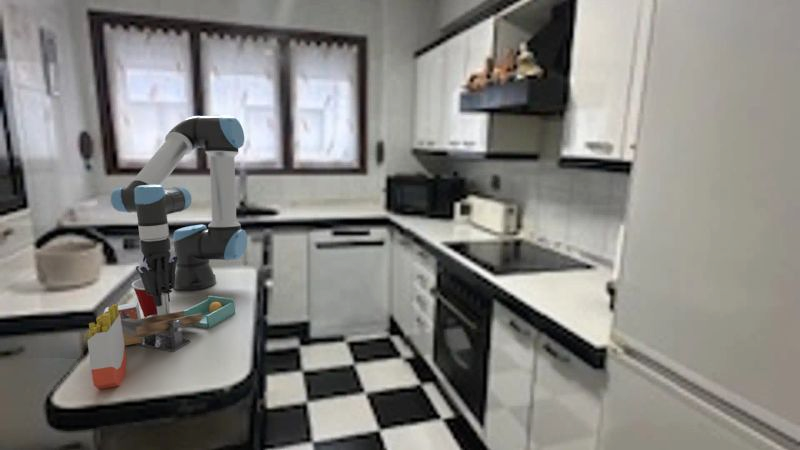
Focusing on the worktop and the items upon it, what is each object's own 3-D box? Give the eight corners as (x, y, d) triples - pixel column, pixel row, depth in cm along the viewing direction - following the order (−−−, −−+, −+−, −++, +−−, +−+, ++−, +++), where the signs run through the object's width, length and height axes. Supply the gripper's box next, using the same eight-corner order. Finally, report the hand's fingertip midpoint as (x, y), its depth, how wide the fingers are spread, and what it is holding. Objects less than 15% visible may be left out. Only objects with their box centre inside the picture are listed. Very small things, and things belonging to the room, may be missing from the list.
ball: (204, 312, 140) (213, 314, 143) (215, 314, 139) (223, 315, 142) (208, 300, 141) (216, 302, 145) (218, 301, 140) (226, 303, 143)
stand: (154, 335, 127) (151, 312, 126) (190, 342, 123) (187, 318, 122) (136, 345, 122) (133, 321, 120) (173, 351, 118) (170, 327, 116)
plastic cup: (157, 324, 135) (153, 288, 132) (128, 322, 137) (122, 285, 135) (181, 311, 145) (177, 276, 143) (153, 308, 147) (149, 275, 145)
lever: (163, 317, 135) (164, 304, 136) (201, 323, 131) (202, 310, 131) (94, 331, 115) (95, 316, 115) (136, 338, 110) (138, 323, 110)
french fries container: (93, 396, 98) (81, 321, 94) (107, 372, 108) (96, 303, 104) (116, 392, 99) (105, 318, 96) (128, 368, 109) (118, 301, 106)
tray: (210, 309, 146) (209, 295, 145) (235, 313, 143) (234, 298, 142) (182, 324, 135) (181, 308, 134) (209, 328, 132) (207, 312, 131)
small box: (109, 349, 119) (101, 313, 117) (112, 342, 124) (105, 307, 122) (143, 342, 122) (136, 306, 120) (144, 335, 127) (138, 300, 125)
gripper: (163, 232, 134) (171, 305, 139) (124, 242, 122) (134, 321, 126) (183, 234, 132) (190, 307, 137) (144, 244, 119) (154, 325, 124)
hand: (163, 314), depth 131 cm, fingers closed
